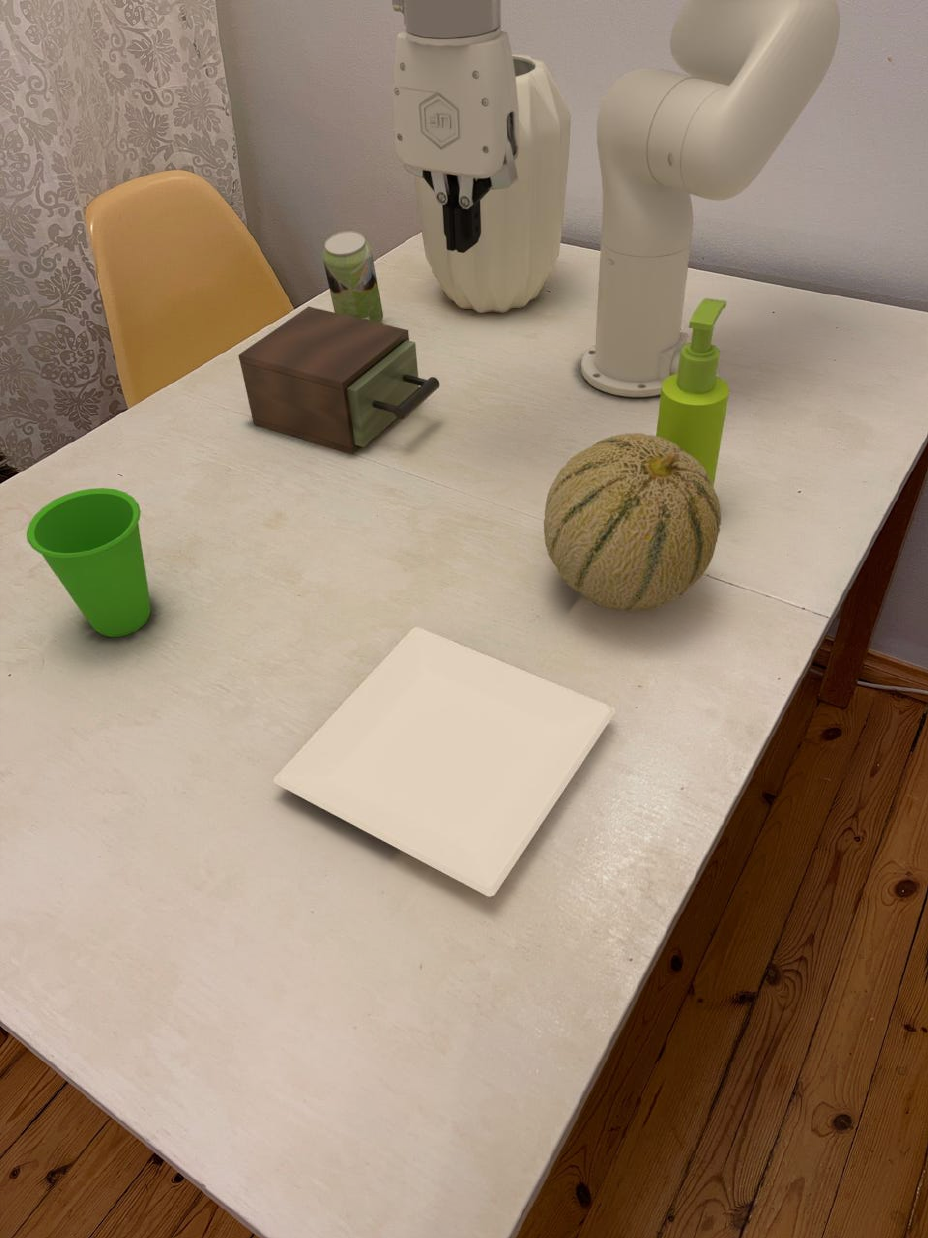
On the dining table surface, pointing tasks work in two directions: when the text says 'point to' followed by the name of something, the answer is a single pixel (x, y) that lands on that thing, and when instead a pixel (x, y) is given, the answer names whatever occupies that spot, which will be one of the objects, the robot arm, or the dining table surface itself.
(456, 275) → the vase
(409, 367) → the drawer
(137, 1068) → the dining table surface
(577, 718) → the plate
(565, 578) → the cantaloupe
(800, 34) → the robot arm
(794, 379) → the dining table surface
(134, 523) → the cup
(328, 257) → the beverage can
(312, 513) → the dining table surface
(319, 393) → the cabinet
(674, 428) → the soap dispenser
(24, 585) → the dining table surface
